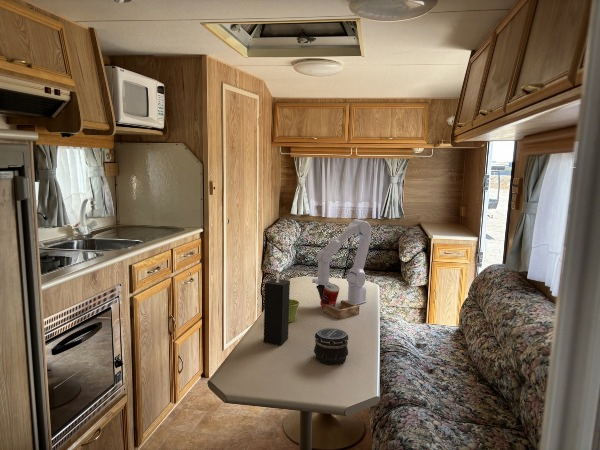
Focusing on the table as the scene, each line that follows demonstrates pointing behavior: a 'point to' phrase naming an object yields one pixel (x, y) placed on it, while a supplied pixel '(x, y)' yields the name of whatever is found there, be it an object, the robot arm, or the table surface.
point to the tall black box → (276, 311)
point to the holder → (342, 310)
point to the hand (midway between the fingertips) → (322, 299)
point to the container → (331, 346)
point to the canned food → (329, 295)
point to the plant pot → (292, 309)
